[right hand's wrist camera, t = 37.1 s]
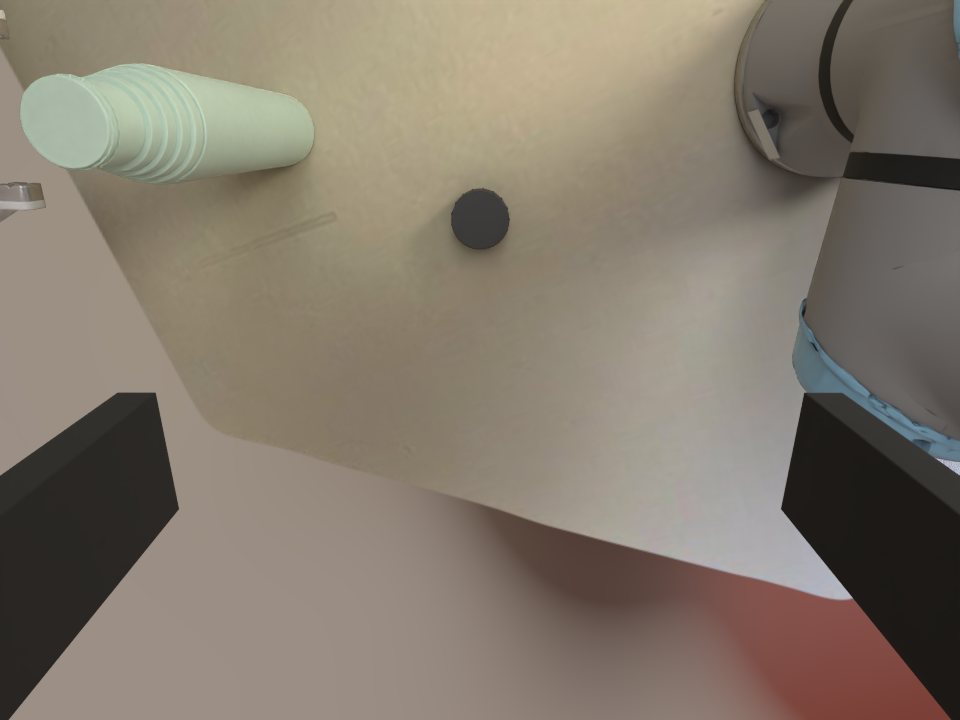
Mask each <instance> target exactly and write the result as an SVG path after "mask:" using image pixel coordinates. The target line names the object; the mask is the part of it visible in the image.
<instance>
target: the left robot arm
mask: <svg viewBox="0 0 960 720" xmlns="http://www.w3.org/2000/svg"><path fill="white" fill-rule="evenodd" d="M0 39H10V37H9V32H8V27H7V22H6V19H5V14H4V10H1V9H0ZM45 207H46V205H45V200H44V197H43V192H42V188H41V184H40V183H29V184H28V183H21V182H14V183H8V184H0V222H1V221H3V220H4V219H6V218H7V217H9V216H10V215H11V214H13V213H15V212H16V211H17V210H35V209H41V208H45Z"/></svg>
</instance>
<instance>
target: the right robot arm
mask: <svg viewBox="0 0 960 720" xmlns="http://www.w3.org/2000/svg"><path fill="white" fill-rule="evenodd" d="M735 98H736V104H737V110H738V114H739V117H740V120H741V123H742V126H743V128H744V130H745V132H746V134H747V136H748V137H749V139H750V141H751V142H752V144H753V145H754V146H755V147H756V148H757V150H758V151H759V152H760V153H761V154H762V155H763V156H764V157H765V158H767V159H768V160H769V161H771V162H772V163H774V164H775V165H777V166H779V167H780V168H783V169H785V170H787V171H790V172H793V173H796V174H801V175H806V176H814V177H841V176H842V177H845V178H841V181H840V185H839V188H838V192H837V195H836V199H835V202H834V206H833V209H832V213H831V216H830V219H829V223H828V226H827V230H826V233H825V237H824V240H823V244H822V247H821V251H820V254H819V257H818V261H817V264H816V268H815V271H814V275H813V278H812V282H811V285H810V288H809V292H808V295H807V298H806V299H804V300H803V301H802V304H801V306H800V310H799V322H800V325H799V329H798V333H797V337H796V342H795V346H794V350H793V356H792V361H793V367H794V369H795V372H796V374H797V379H798V380H799V382H800V384H801V385H802V387H803V388H804V389H805V390H806V392H807V393H804V397H803V402H802V407H801V412H800V417H799V422H798V427H797V432H796V437H795V442H794V447H793V452H792V457H791V462H790V467H789V472H788V477H787V482H786V487H785V492H784V497H783V502H782V507H781V510H782V511H783V512H784V513H785V515H786V516H787V517H788V518H789V519H790V521H791V522H792V523H793V524H794V526H795V527H796V528H797V529H798V531H799V532H800V533H801V534H802V536H803V537H804V538H805V539H806V541H807V542H808V543H809V544H810V545H811V547H812V548H813V549H814V550H815V552H816V553H817V554H818V555H819V557H820V558H821V559H822V560H823V562H824V563H825V564H826V565H827V566H828V568H829V569H830V570H831V571H832V573H833V574H834V575H835V576H836V578H837V579H838V580H839V581H840V583H841V584H842V585H843V586H844V588H845V589H846V590H847V591H848V592H849V594H850V595H851V596H852V597H853V599H854V600H855V601H856V602H857V604H858V605H859V606H860V607H861V608H862V610H863V611H864V612H865V613H866V615H867V616H868V617H869V618H870V620H871V621H872V622H873V623H874V625H875V626H876V627H877V628H878V630H879V631H880V632H881V633H882V634H883V636H884V637H885V638H886V639H887V641H888V642H889V643H890V644H891V646H892V647H893V648H894V649H895V651H896V652H897V653H898V654H899V656H900V657H901V658H902V659H903V660H904V662H905V663H906V664H907V665H908V667H909V668H910V669H911V670H912V672H913V673H914V674H915V675H916V677H917V678H918V679H919V680H920V682H921V683H922V684H923V685H924V686H925V688H926V689H927V690H928V691H929V693H930V694H931V695H932V696H933V698H934V699H935V700H936V701H937V703H938V704H939V705H940V706H941V707H942V709H943V710H944V711H945V712H946V714H947V715H948V716H949V717H950V719H951V720H960V476H959V475H958V474H957V473H955V472H954V471H952V470H951V469H950V468H948V467H947V466H945V465H944V464H942V463H941V462H940V461H938V460H937V459H935V458H939V459H943V460H948V461H956V462H960V0H765V2H764V3H763V5H762V6H761V7H760V9H759V10H758V12H757V13H756V15H755V17H754V18H753V20H752V22H751V24H750V26H749V28H748V30H747V32H746V35H745V37H744V40H743V42H742V45H741V49H740V52H739V56H738V61H737V65H736V74H735ZM851 178H852V179H851ZM861 179H865V180H861ZM871 180H875V181H871ZM881 181H884V182H881ZM890 182H893V183H890ZM900 183H902V184H900ZM909 184H911V185H909ZM178 510H179V507H178V502H177V497H176V492H175V487H174V482H173V477H172V472H171V467H170V462H169V457H168V452H167V447H166V442H165V437H164V432H163V427H162V422H161V417H160V412H159V408H158V402H157V397H156V393H117V394H115V395H114V396H112V397H111V398H110V399H108V400H107V401H105V402H104V403H102V404H101V405H100V406H98V407H97V408H95V409H94V410H93V411H91V412H90V413H88V414H87V415H85V416H84V417H83V418H81V419H80V420H78V421H77V422H76V423H74V424H73V425H71V426H70V427H69V428H67V429H66V430H64V431H63V432H61V433H60V434H59V435H57V436H56V437H54V438H53V439H51V440H50V441H49V442H47V443H46V444H44V445H43V446H42V447H40V448H39V449H37V450H36V451H35V452H33V453H32V454H30V455H29V456H27V457H26V458H25V459H23V460H22V461H20V462H19V463H18V464H16V465H15V466H13V467H12V468H10V469H9V470H8V471H6V472H5V473H3V474H2V475H1V476H0V720H9V719H10V717H11V716H12V715H13V714H14V712H15V711H16V710H17V709H18V707H19V706H20V705H21V704H22V703H23V701H24V700H25V699H26V698H27V696H28V695H29V694H30V693H31V691H32V690H33V689H34V688H35V686H36V685H37V684H38V683H39V682H40V680H41V679H42V678H43V677H44V675H45V674H46V673H47V672H48V670H49V669H50V668H51V667H52V665H53V664H54V663H55V662H56V660H57V659H58V658H59V657H60V656H61V654H62V653H63V652H64V651H65V649H66V648H67V647H68V646H69V644H70V643H71V642H72V641H73V639H74V638H75V637H76V636H77V635H78V633H79V632H80V631H81V630H82V628H83V627H84V626H85V625H86V623H87V622H88V621H89V620H90V618H91V617H92V616H93V615H94V613H95V612H96V611H97V610H98V608H99V607H100V606H101V605H102V603H103V602H104V601H105V600H106V599H107V597H108V596H109V595H110V594H111V592H112V591H113V590H114V589H115V588H116V586H117V585H118V584H119V583H120V581H121V580H122V579H123V578H124V576H125V575H126V574H127V573H128V571H129V570H130V569H131V568H132V566H133V565H134V564H135V563H136V562H137V560H138V559H139V558H140V557H141V555H142V554H143V553H144V552H145V550H146V549H147V548H148V547H149V545H150V544H151V543H152V542H153V540H154V539H155V538H156V537H157V536H158V534H159V533H160V532H161V531H162V529H163V528H164V527H165V526H166V524H167V523H168V522H169V521H170V519H171V518H172V517H173V516H174V515H175V513H176V512H177V511H178Z"/></svg>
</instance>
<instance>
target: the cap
mask: <svg viewBox="0 0 960 720" xmlns="http://www.w3.org/2000/svg"><path fill="white" fill-rule="evenodd" d="M451 215H452V227H453V230H454V233H455V235H456V236H457V238H458V239H459V240H460V241H461V242H462V243H463V244H465V245H466V246H468V247H471V248H474V249H486V248H490V247H492V246H494V245H496V244H497V243H499V242H500V241H501V240H502V238H503V237H504V236H505V234H506V232H507V229H508V226H509V220H510V219H509V214H508V208H507V207H506V205H505V203H504V201H503V200H502V198H500V197H499V196H498V195H497V194H496V193H494V191H493V192H492V191H490V190H487V189H484V188H483V189H474V190H473V189H472V190H471V191H468V192H466V193H465V194H463V195H462V196H461V197H460V198H459V200H458V201H457V202H456V203H455V207H454V209H453V212H452V214H451Z"/></svg>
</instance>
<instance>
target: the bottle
mask: <svg viewBox="0 0 960 720" xmlns="http://www.w3.org/2000/svg"><path fill="white" fill-rule="evenodd" d="M20 121H21V125H22V128H23V131H24V133H25V135H26V137H27V139H28V141H29V142H30V144H31V145H32V146H33V147H34V149H35V150H36V151H37V152H38V153H39V154H40V155H41V156H43V157H44V158H45V159H47V160H48V161H50V162H52V163H54V164H56V165H58V166H60V167H62V168H65V169H68V170H71V171H86V170H90V169H94V168H98V169H101V170H104V171H107V172H109V173H112V174H115V175H118V176H121V177H124V178H127V179H130V180H133V181H136V182H140V183H148V184H157V185H163V184H172V183H178V182H185V181H191V180H198V179H205V178H211V177H218V176H224V175H231V174H238V173H244V172H251V171H257V170H264V169H270V168H277V167H284V166H290V165H294V164H296V163H298V162H300V161H301V160H303V159H304V158H305V157H306V156H307V155H308V153H309V152H310V150H311V148H312V145H313V142H314V125H313V121H312V119H311V116H310V114H309V113H308V111H307V110H306V108H305V107H304V106H303V105H302V104H301V103H300V102H299V101H298V100H296V99H295V98H293V97H291V96H289V95H286V94H282V93H278V92H273V91H269V90H264V89H259V88H255V87H250V86H246V85H241V84H237V83H232V82H227V81H223V80H218V79H214V78H209V77H204V76H200V75H195V74H191V73H186V72H182V71H177V70H172V69H168V68H163V67H159V66H154V65H150V64H123V65H117V66H114V67H111V68H108V69H105V70H102V71H100V72H96V73H93V74H91V75H88V76H85V77H82V78H80V77H77V76H74V75H71V74H54V75H51V76H45V77H42V78H39V79H38V80H36V81H34V82H33V83H32V84H30V85H29V87H28V88H27V89H26V91H25V92H24V94H23V96H22V99H21V103H20Z"/></svg>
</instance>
